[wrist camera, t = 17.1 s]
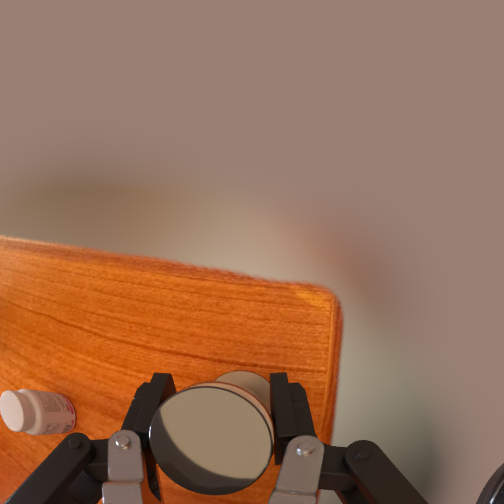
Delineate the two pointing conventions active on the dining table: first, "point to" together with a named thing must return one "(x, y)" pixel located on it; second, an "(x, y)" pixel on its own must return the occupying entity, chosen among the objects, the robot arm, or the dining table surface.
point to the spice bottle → (213, 437)
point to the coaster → (249, 383)
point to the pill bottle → (37, 412)
